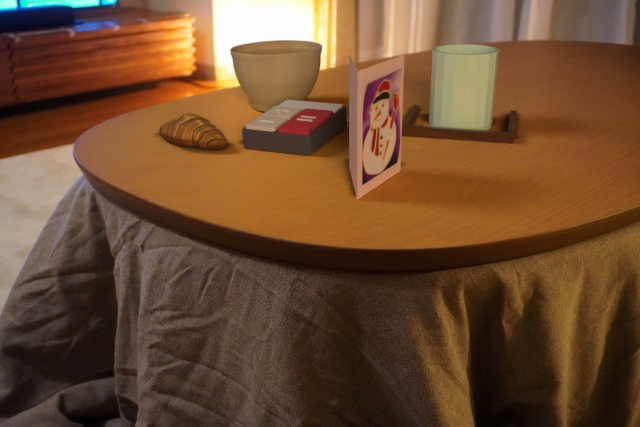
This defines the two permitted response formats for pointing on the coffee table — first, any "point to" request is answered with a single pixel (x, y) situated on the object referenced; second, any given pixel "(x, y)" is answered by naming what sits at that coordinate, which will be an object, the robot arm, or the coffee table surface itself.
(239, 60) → the planter bowl
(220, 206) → the coffee table surface
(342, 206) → the coffee table surface
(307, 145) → the calculator
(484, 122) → the cup
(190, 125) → the croissant
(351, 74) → the greeting card
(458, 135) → the bay
